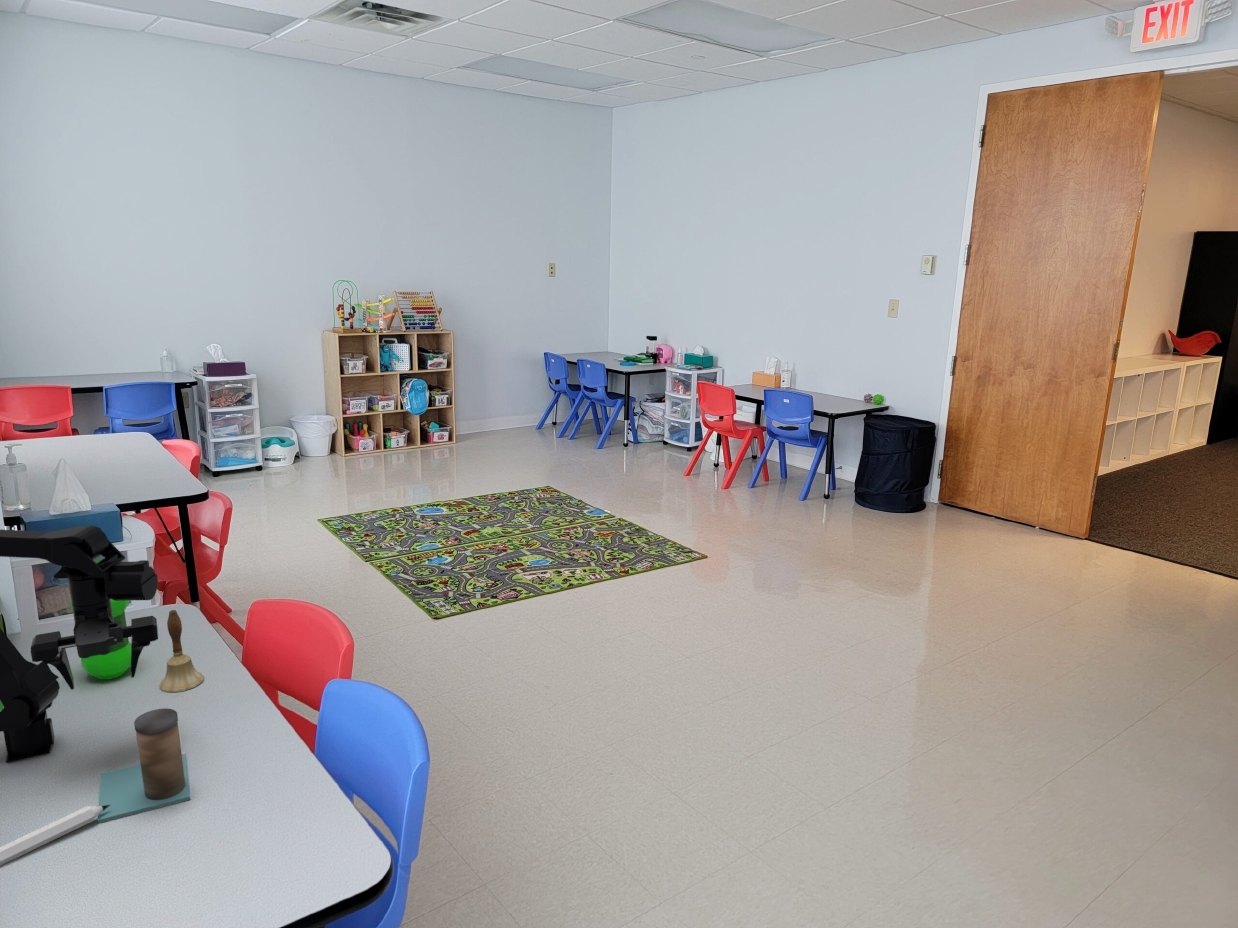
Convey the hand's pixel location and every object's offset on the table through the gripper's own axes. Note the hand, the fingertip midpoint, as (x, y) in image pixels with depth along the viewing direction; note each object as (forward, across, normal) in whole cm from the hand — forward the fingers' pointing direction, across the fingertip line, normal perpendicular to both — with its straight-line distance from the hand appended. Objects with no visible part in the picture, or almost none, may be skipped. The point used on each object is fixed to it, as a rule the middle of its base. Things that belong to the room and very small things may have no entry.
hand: (103, 682), depth 152 cm
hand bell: (+13, +12, +21) cm, 28 cm away
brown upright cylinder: (+12, +8, -19) cm, 24 cm away
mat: (+13, +5, -16) cm, 21 cm away
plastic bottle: (+13, -1, +32) cm, 35 cm away
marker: (+13, -7, -24) cm, 28 cm away
